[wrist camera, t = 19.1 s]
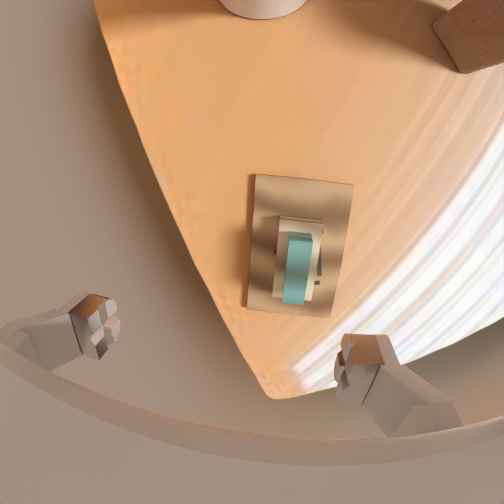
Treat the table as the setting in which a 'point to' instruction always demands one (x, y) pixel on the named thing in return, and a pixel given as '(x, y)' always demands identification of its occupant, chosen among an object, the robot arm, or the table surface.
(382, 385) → the robot arm
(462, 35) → the wooden block
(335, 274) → the wooden board
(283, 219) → the block
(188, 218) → the table surface
